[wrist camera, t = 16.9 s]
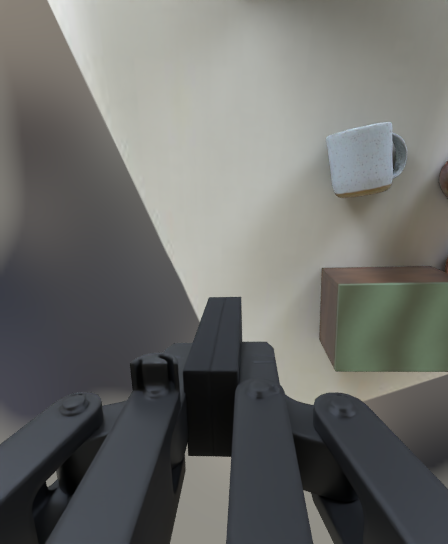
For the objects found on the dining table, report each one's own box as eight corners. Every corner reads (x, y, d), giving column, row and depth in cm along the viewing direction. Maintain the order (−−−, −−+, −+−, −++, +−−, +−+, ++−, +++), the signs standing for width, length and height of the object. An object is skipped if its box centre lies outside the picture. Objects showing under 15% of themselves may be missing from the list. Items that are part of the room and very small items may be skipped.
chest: (430, 265, 48) (469, 281, 39) (421, 339, 51) (457, 368, 42) (321, 267, 49) (337, 283, 41) (319, 339, 52) (333, 368, 43)
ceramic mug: (328, 199, 47) (344, 200, 39) (319, 140, 45) (335, 129, 37) (404, 183, 46) (436, 181, 38) (398, 122, 44) (431, 107, 36)
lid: (477, 281, 39) (481, 283, 39) (464, 368, 42) (468, 371, 41) (337, 283, 40) (339, 285, 40) (333, 368, 43) (335, 371, 42)
